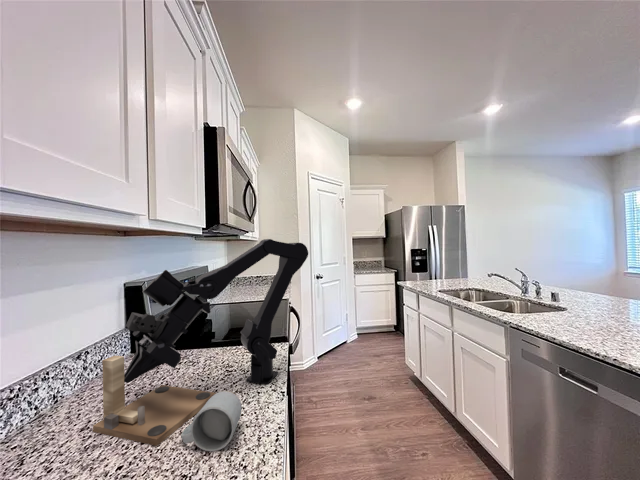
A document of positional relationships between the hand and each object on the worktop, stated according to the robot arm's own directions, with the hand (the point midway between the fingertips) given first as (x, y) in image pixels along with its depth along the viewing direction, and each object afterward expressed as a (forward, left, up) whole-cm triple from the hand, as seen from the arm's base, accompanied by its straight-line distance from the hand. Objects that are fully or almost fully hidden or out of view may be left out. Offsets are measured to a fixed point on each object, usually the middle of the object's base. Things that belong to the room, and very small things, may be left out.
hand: (124, 380), depth 62 cm
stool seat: (-4, +5, -8) cm, 10 cm away
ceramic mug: (0, +22, -8) cm, 23 cm away
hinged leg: (+2, +2, -7) cm, 7 cm away
